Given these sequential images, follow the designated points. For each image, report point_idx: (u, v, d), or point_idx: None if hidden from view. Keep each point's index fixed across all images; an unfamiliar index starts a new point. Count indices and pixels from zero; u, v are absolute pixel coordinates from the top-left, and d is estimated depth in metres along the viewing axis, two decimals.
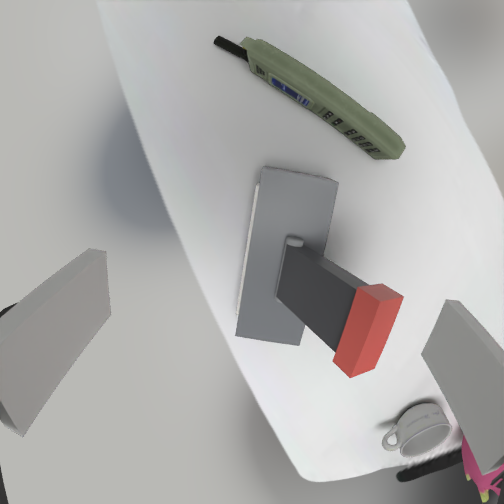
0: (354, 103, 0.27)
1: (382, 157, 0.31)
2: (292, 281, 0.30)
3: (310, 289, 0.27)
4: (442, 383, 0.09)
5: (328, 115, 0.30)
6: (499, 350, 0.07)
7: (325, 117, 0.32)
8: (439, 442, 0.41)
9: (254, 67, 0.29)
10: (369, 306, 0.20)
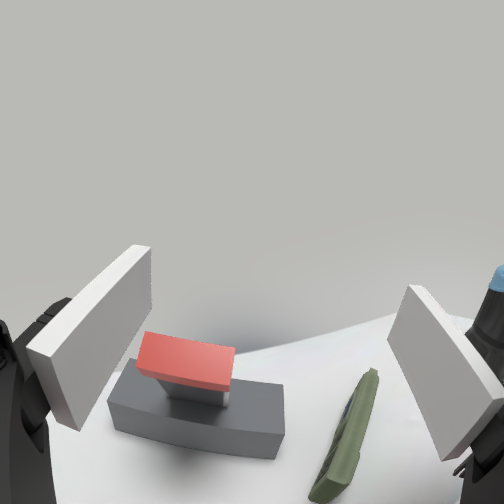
0: (361, 436, 0.28)
1: (319, 482, 0.24)
2: None
3: None
4: (404, 367, 0.10)
5: (339, 435, 0.31)
6: (458, 333, 0.08)
7: (334, 442, 0.32)
8: None
9: (355, 389, 0.39)
10: None
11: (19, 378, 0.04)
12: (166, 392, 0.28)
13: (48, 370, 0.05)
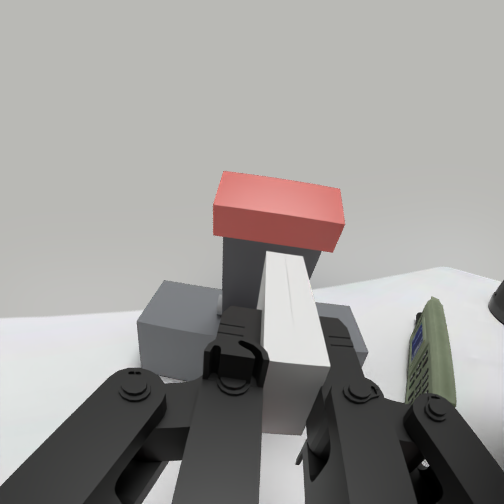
0: (449, 354, 0.24)
1: None
2: None
3: None
4: None
5: (420, 363, 0.26)
6: (306, 297, 0.09)
7: (413, 375, 0.27)
8: None
9: (418, 321, 0.35)
10: None
11: None
12: (222, 299, 0.24)
13: (282, 378, 0.06)
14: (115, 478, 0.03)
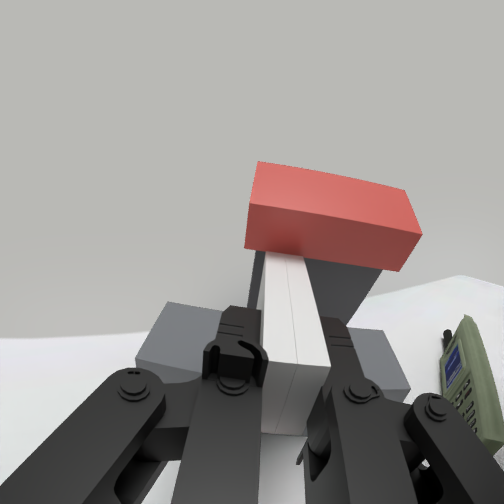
0: (493, 384, 0.18)
1: None
2: None
3: None
4: None
5: (460, 393, 0.21)
6: (307, 297, 0.09)
7: None
8: None
9: (451, 342, 0.29)
10: None
11: None
12: None
13: (281, 378, 0.06)
14: (114, 478, 0.03)
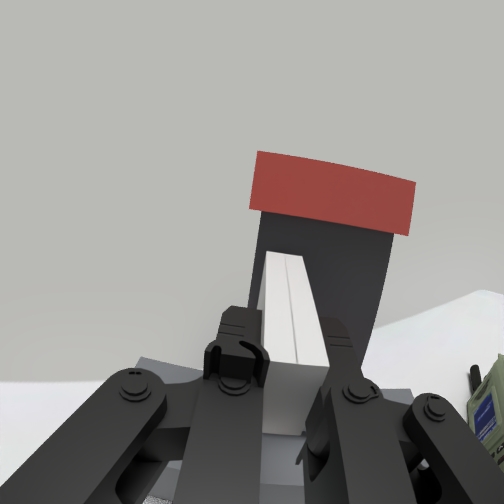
0: None
1: None
2: None
3: None
4: None
5: (492, 455, 0.14)
6: (305, 297, 0.09)
7: None
8: None
9: (481, 386, 0.22)
10: None
11: None
12: None
13: (282, 378, 0.06)
14: (115, 479, 0.03)
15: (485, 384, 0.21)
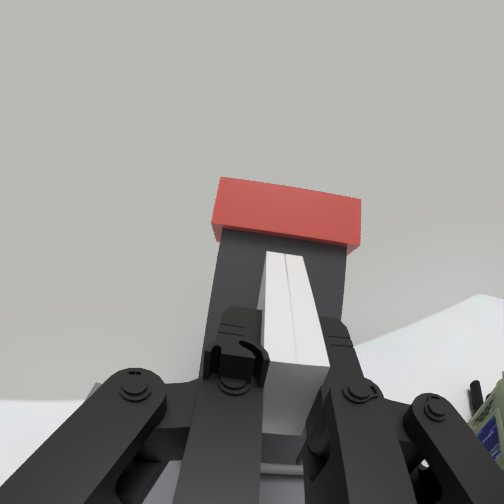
0: None
1: None
2: None
3: None
4: None
5: None
6: (306, 297, 0.09)
7: None
8: None
9: (484, 407, 0.19)
10: None
11: None
12: None
13: (282, 378, 0.06)
14: (115, 478, 0.03)
15: (488, 405, 0.18)
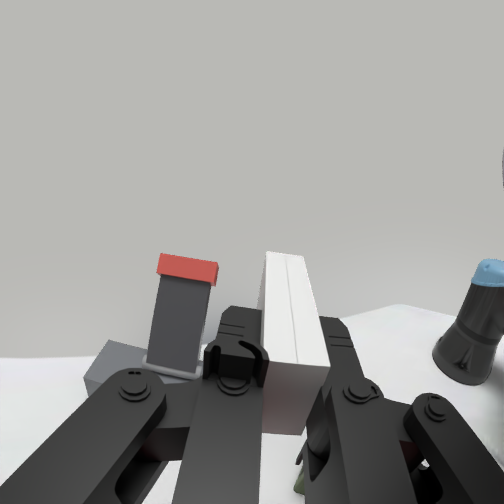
0: None
1: None
2: None
3: None
4: None
5: None
6: (306, 297, 0.09)
7: None
8: None
9: None
10: None
11: None
12: (149, 340, 0.33)
13: (282, 378, 0.06)
14: (115, 478, 0.03)
15: None
